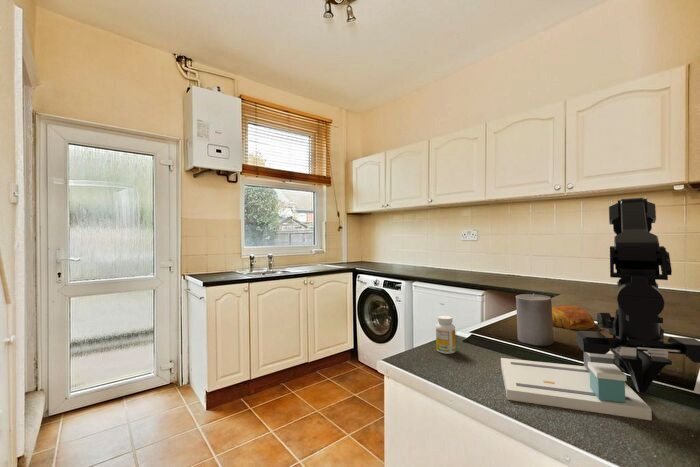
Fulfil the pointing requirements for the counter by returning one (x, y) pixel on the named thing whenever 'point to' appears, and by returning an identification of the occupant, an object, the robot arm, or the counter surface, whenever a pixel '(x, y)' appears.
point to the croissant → (571, 317)
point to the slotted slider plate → (564, 388)
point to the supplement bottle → (445, 335)
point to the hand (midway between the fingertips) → (640, 392)
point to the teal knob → (607, 381)
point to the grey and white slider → (598, 358)
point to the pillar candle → (534, 319)
